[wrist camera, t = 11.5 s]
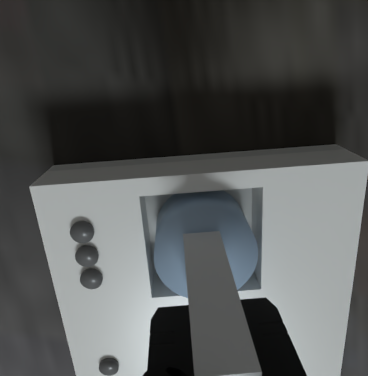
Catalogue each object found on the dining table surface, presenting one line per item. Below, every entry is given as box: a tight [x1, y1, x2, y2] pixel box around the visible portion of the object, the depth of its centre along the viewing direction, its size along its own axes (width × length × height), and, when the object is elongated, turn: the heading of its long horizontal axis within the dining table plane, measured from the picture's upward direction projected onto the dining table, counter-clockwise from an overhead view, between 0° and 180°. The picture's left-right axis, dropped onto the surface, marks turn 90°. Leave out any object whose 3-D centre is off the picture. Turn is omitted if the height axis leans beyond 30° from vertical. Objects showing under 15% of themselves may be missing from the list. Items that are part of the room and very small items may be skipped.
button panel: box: [29, 144, 368, 376], centre depth 19 cm, size 20×14×3 cm
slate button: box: [154, 190, 258, 298], centre depth 15 cm, size 4×4×3 cm
